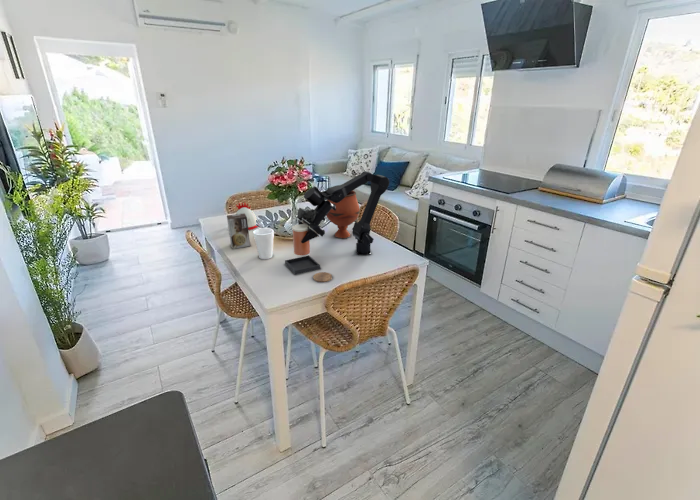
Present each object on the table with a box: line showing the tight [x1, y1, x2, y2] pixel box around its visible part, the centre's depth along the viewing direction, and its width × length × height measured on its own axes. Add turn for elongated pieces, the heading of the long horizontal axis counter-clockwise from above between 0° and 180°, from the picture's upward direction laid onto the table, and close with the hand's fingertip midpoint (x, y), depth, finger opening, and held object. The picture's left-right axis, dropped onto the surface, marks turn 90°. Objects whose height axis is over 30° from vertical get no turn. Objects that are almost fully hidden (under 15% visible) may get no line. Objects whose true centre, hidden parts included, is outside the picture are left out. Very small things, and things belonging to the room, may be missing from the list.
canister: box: [291, 223, 311, 256], centre depth 154 cm, size 7×7×12 cm
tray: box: [284, 254, 321, 276], centre depth 159 cm, size 12×12×2 cm
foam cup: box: [252, 227, 275, 260], centre depth 166 cm, size 10×9×13 cm
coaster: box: [312, 271, 333, 283], centre depth 149 cm, size 8×8×1 cm
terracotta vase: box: [325, 190, 360, 239], centre depth 191 cm, size 19×19×25 cm
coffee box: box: [226, 213, 251, 250], centre depth 177 cm, size 9×6×16 cm
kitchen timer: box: [235, 202, 259, 231], centre depth 204 cm, size 14×14×15 cm
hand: (298, 239), depth 153 cm, fingers closed on canister, 7 cm apart
